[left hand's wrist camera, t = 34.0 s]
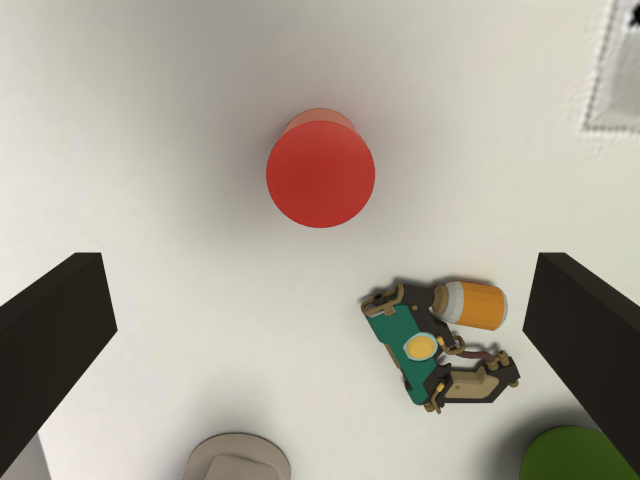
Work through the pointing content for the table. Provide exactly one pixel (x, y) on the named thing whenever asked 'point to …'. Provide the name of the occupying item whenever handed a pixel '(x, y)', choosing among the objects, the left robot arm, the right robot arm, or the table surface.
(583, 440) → the vase
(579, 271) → the left robot arm
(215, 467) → the bust sculpture
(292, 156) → the can
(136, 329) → the table surface
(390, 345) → the spray gun
